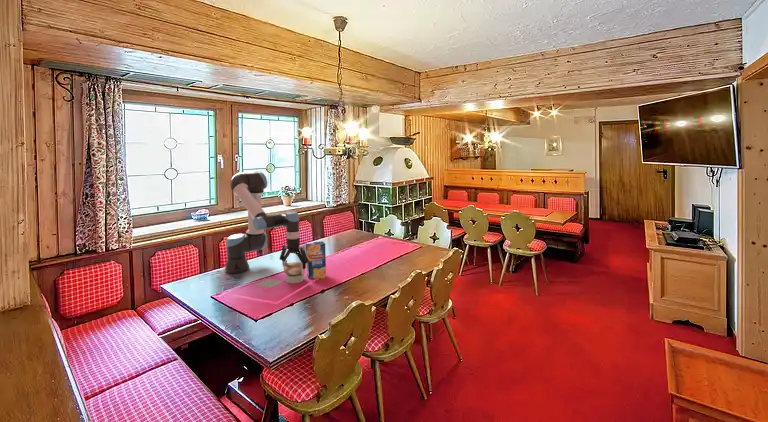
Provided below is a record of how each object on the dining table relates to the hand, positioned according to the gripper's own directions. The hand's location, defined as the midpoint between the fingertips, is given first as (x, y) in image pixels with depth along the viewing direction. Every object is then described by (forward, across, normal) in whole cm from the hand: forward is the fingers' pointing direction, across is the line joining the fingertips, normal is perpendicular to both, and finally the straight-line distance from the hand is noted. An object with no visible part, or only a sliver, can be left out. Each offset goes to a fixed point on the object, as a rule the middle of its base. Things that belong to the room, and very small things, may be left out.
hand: (294, 272), depth 236 cm
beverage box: (+6, +8, +12) cm, 16 cm away
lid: (-1, 0, 0) cm, 1 cm away
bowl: (+6, 0, 0) cm, 6 cm away
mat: (+6, -11, -10) cm, 16 cm away
